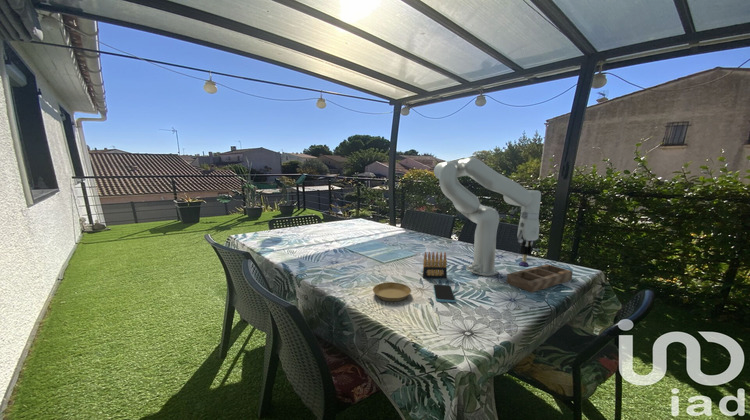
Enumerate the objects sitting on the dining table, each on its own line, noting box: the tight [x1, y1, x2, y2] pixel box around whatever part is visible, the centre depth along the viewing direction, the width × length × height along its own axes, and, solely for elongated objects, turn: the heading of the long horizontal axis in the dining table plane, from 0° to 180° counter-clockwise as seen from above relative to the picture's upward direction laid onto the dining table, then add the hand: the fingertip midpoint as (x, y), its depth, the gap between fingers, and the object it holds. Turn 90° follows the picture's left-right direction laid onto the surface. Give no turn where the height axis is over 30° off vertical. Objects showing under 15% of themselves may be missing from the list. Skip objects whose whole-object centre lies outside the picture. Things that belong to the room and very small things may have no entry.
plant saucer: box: [372, 281, 412, 303], centre depth 105 cm, size 15×15×3 cm
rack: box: [506, 263, 573, 293], centre depth 119 cm, size 29×11×4 cm, turn 118°
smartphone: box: [432, 284, 457, 303], centre depth 107 cm, size 7×1×15 cm
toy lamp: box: [518, 239, 533, 268], centre depth 130 cm, size 5×5×17 cm
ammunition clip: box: [422, 251, 448, 279], centre depth 123 cm, size 11×2×12 cm, turn 88°
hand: (525, 253), depth 131 cm, fingers closed on toy lamp
